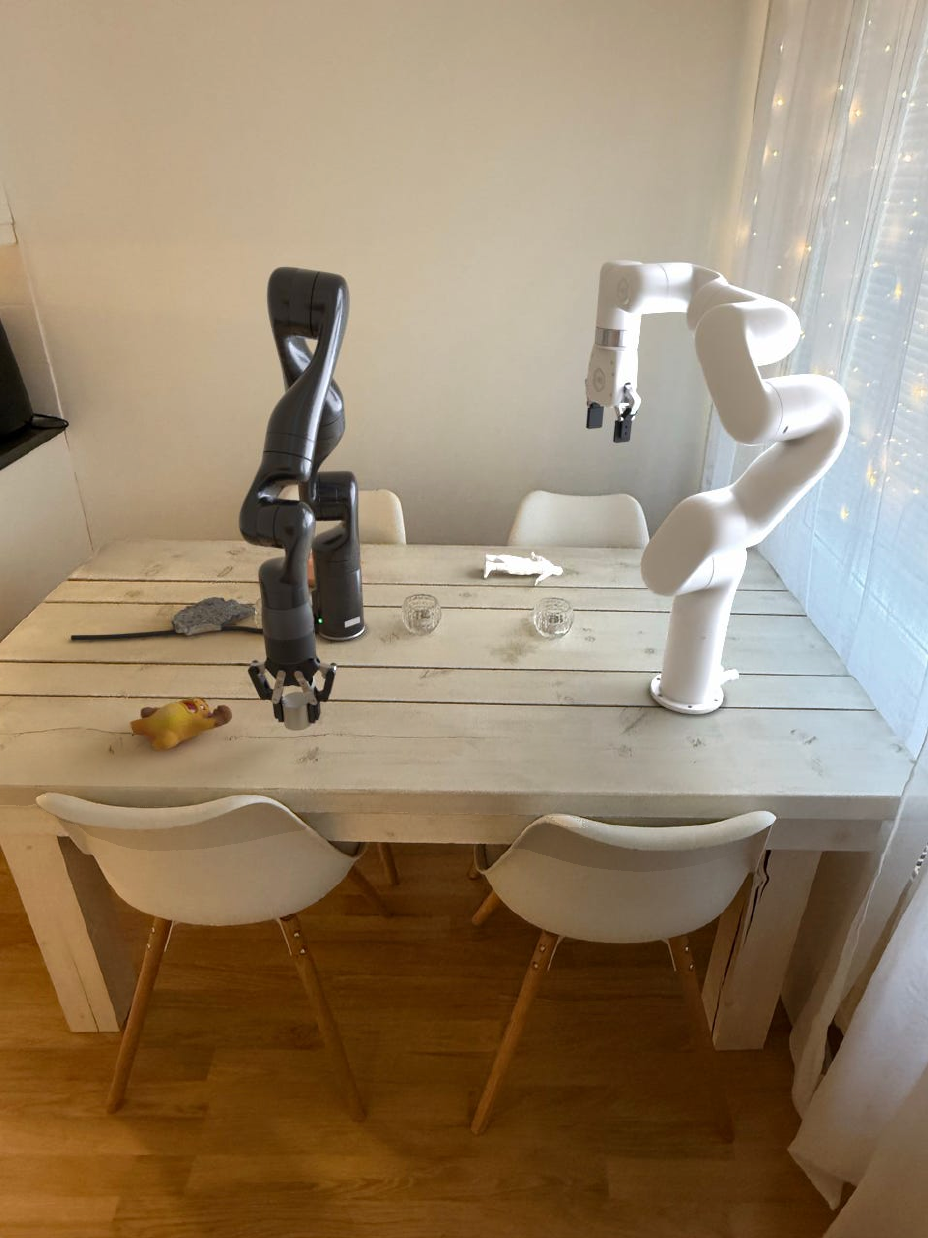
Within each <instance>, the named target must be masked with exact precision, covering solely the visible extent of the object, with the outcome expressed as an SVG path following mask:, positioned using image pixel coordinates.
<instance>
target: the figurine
mask: <svg viewBox="0 0 928 1238" xmlns="http://www.w3.org/2000/svg"><path fill="white" fill-rule="evenodd" d="M532 559H534V560H535V561H532ZM496 570H497V571H502V573H506V574H510V575H511V574H512V575H518V576H519V575H522V576H523V575H527V576H529V575H532V574H540V575H539V577H537V578H536V579H535V582H534V586H536V585H537V584H538V582H539V581H543V580H545V579H546V578H547V577H549V576H552V575H555V576H560V575H561V574H562V573H563V568H562V567H561V566H555V565H553V564H552V563H551V562H550V561H549V560H548V559H546V558H545V557H543V556H541V555H535V553H534V551H531V553H530V558H528V557H527V558H526V557H525V558H522V557H519V556H514V555H509V554H501V555H492V554H485V556H484V561H483V578H484V579H487V578H488V576H489V574H490V572H492V571H496Z"/></svg>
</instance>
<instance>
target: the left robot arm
mask: <svg viewBox="0 0 928 1238" xmlns="http://www.w3.org/2000/svg"><path fill="white" fill-rule="evenodd" d="M350 297H351V296H350V289H349V284H348V282H347V280H346V279H345V277H344V276H343V275H341V274H339V273H334V272H330V271H329V272H328V271H324V270H323V271H321V270H315V269H308V268H302V267H295V266H279V267H276V268H275V269H273V271H272V272H271V274H270V275H269V278H268V281H267V285H266V306H267V314H268V319H269V325H270V329H271V333H272V336H273V340H274V344H275V348H276V352H277V356H278V360H279V363H280V368H281V374H282V379H283V388H284V394H283V395H282V396H281V398H280V399H279V400H278V402H277V403H276V404H275V406H274V408H273V409H272V411H271V413H270V415H269V419H268V422H267V426H266V431H265V436H264V442H263V449H262V455H261V461H260V464H259V466H258V469H257V471H256V473H255V476H254V478H253V480H252V483H251V485H250V488H249V489H248V491H247V493H246V495H245V496H244V499H243V501H242V505H241V506H240V510H239V513H238V528H239V533H240V534H241V536H242V539H243V540H245V542H247V544H250V545H252V546H256V547H264V548H272V549H279V550H284V554H285V555H284V556H277V557H273V558H270V559H267V560H265V561H264V562H262V563H261V564H260V565H259V567H258V572H257V574H258V576H257V577H258V585H259V586H258V587H259V595H260V602H261V603H260V605H261V610H260V611H261V613H260V615H261V624H262V628H258V627H251V626H245V625H227V626H224V627H223V628H222V629H221V630H218V631H207V632H206V633H215V632H245V633H246V632H247V633H253V634H262V635H263V641H264V642H263V643H264V650H265V656H266V658H265V660H263V661H259V660H257V659H254V660H252V661H251V664H250V665H249V667H248V669H247V673H248V676H249V678H250V680H251V682H252V684H253V686H254V688H255V691H256V692H257V695H258V698H259V699H260V700H262V701H266V700H267V701H270V702H271V703H272V709H273V717H274V718H275V720H277V721H278V723H284V719H283V711H282V702H281V701H282V698H283V697H284V696H283V693H284V690H285V687H292V686H294V687H297V688H300V689H301V690H302V691H301V692H303V693H304V694H306V696H307V698H308V700H309V702H310V703H309V715H310V723H311V725H312V724H316V723H317V721H319V719H320V716H321V714H322V709H321V702H322V703H327V702H328V701H329V699H330V695H331V693H332V689H333V686H334V682H335V678H336V675H337V670H338V664H337V663H336V662H331V663H330V664H328V663H324V662H321V659H320V658H319V656H318V655H317V645H316V643H317V642H316V635H318V636H320V637H321V638H323V639H325V640H328V641H331V642H332V641H333V642H345V641H346V642H347V641H351V640H355V639H358V638H359V637H360V636H362V635H363V634H364V633H365V631H366V623H365V613H364V612H365V610H364V594H363V593H364V592H363V575H362V574H363V573H362V565H361V564H362V560H361V541H360V529H359V528H360V527H359V526H360V525H359V506H360V505H359V504H360V503H359V500H360V499H359V485H358V479H357V477H356V474H355V473H354V472H352V471H351V470H320V471H319V469H320V467H321V466H322V464H323V463H324V462H325V460H327V458H328V457H329V456H330V455H331V454H332V453H333V451H335V449H336V447H337V446H339V443H340V442H341V440H342V438H343V436H344V434H345V432H346V431H345V430H346V411H345V401H344V394H343V392H342V390H341V388H340V386H339V384H338V383H337V381H336V380H335V378H334V374H335V371H336V367H337V363H338V359H339V358H340V357H339V356H340V353H341V349H342V345H343V342H344V339H345V335H346V331H347V327H348V321H349V317H350V308H351V307H350V305H351V304H350V303H351V300H350V299H351V298H350ZM306 339H307V340H312V341H317V342H316V346H315V349H314V352H312V350H311V349H310V347H309V345H308V343H307V340H306ZM291 486H297V490H298V492H297V493H298V499H291V498H290V499H288V498H282V497H281V498H280V495H281V493H282V492H283V490H284V489H286V488H288V487H291ZM317 522H339V523H337V525H335V526H334V527H331V528H329V529H327V530H325V531H322V532H320V533H318V534H317V535H315V534H316V529H317ZM311 553H312V559H313V570H314V582H315V587H314V588H313V589H312V590H311V591H310V586H309V584H308V566H309V559H310V554H311ZM174 635H184V634H183V633H177V632H175V629H165V630H155V631H142V632H130V633H129V632H127V633H112V634H111V633H110V634H72V635H70V640H71V641H102V640H103V641H104V640H105V641H107V640H126V639H138V638H140V639H141V638H151V637H162V636H174ZM318 671H319V672H320V673H321V677H322V679H323V680H324V683H323V687H322V689H320V690H319V687H318V685H317V680H316V677H315V675H316V674H317V673H318ZM266 672H267V673H269V674H270V675H271V676H272V678H274V680H275V682H274V687H273V688H272V687H271V684H270V683H269V680H268V679H267V676H266Z"/></svg>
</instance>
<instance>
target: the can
mask: <svg viewBox="0 0 928 1238" xmlns="http://www.w3.org/2000/svg"><path fill="white" fill-rule="evenodd" d="M281 702H282V711H283V719H284V722H283V726H284V727H285V729H287V730H290V731H293V732H297V731H303V730H306V729H308V728H310V727H311V726H312V724H311V723H310V715H309V703H310V702H309V700H308V698H307V696H306V694H304V693H303V691H294V692H290V693H287V694H285V695H284V696H283V698H282V701H281Z"/></svg>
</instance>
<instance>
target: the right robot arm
mask: <svg viewBox="0 0 928 1238" xmlns="http://www.w3.org/2000/svg"><path fill="white" fill-rule="evenodd" d="M597 294H598V295H597V297H598V298H597V307H596V317H595V318H596V320H595V329H594V343H593V345H592V347H591V352H590V356H589V362H588V368H587V375H586V378H584V384H585V396H586V407H587V409H586V410H587V411H586V421H585V423H586V424H585V428H586V429H587V430H594V429H601V428H602V427H603V424H604V423H603V422H604V412H605V408H607V409H612V408H614V412H615V415H616V419H615V420H614V427H613V437H612V442H613V443H615V444H620V443H628V442H630V441H631V434H632V425H633V421H634V420H635V416H636V415H637V413H638V409H639V407H640V405H641V402H642V401H641V397H640V396H639V394H638V393H637V390H636V389H637V381H638V380H637V378H638V350H637V349H638V346H639V339H640V338H639V336H640V327H641V319H642V315H646V314H656V313H658V314H659V313H669V312H670V313H673V312H675V313H676V312H681V313H686V314H685V324H686V329H687V331H688V333H689V334H690V336H691V337H692V338H694V350H695V354H696V359H697V362H698V364H699V368H700V371H701V374H702V376H703V379H704V382H705V384H706V387H707V390H708V392H709V394H710V397H711V401H712V403H713V406H714V409H715V412H716V414H717V417H718V419H719V421H720V424H721V426H722V429H723V430H724V432H725V433H726V434H727V436H728V437H729V438H730V439H731V440H732V441H734V442H735V443H738V444H739V445H742V446H748V447H749V446H750V447H752V446H753V447H754V446H762V445H767V444H773V445H771V446H769V448H767V449H766V450H764V451H763V452H762V453H760V454H759V455H758V456H757V457H756V458H755V459H754V460H753V461H752V462H751V463H750V465H748V467H747V469H746V470H745V471H744V473H742V475H741V476H740V477H739V478H738V479H737V480H736V481H735V482H734V483H732V484H731V485H728V486H725V487H723V488H718V489H713V490H710V491H704V492H700V493H697V494H693V495H691V496H689V497H687V498H685V499H683V500H682V501H681V502H679V503H677V505H676V506H675V507H674V508H673V509H672V510H671V512H670V513H669V514H668V515H667V517H666V518H665V519H664V521H663V522H662V524H661V525H660V526H659V528H658V529H657V530H656V532H655V533H654V534H653V535H652V537H650V539H649V541H648V543H647V544H646V545H645V548H644V550H643V552H642V555H641V558H640V563H639V564H640V565H639V568H640V569H639V571H640V577H641V580H642V583H643V584H644V586H645V588H646V589H648V590H649V591H650V592H651V593H653V594H655V595H657V596H659V597H660V596H661V597H673V599H672V602H671V607H670V612H669V619H668V625H667V633H666V639H665V645H664V646H665V647H664V652H663V660H662V666H661V673H660V674H657V675H656V676H655V677H654V678H653V679H652V681H651V683H650V687H649V692H650V695H651V697H652V698H653V699H654V700H655V701H656V702H657V703H658V704H660V705H661V706H662V707H664V708H666V709H668V710H672V711H674V712H678V713H681V714H686V715H702V714H708V713H711V712H713V711H715V710H717V709H719V707H720V706H721V705H722V703H723V699H724V691H723V689H722V687H721V686H724V684H725V683H730V682H734V681H738V680H739V676H740V675H739V672H738V671H737V670H736V669H731V670H727V671H725V672H724V667H723V666H722V665H721V661H722V655H723V650H724V649H723V648H724V643H725V640H726V639H725V638H726V633H727V629H728V628H727V627H728V625H729V618H730V614H731V609H732V605H733V600H734V596H735V594H736V591H737V589H738V586H739V584H740V581H741V578H742V576H743V574H744V571H745V568H746V562H747V550H746V548H750V547H752V546H755V545H757V544H758V543H760V542H762V541H763V540H764V539H765V538H766V537H767V535H768V534H770V532H772V530H773V529H774V528H775V527H776V526H777V524H778V523H780V521H781V520H782V519H783V518H784V517H785V516H786V515H787V514H788V513H789V512H790V511H791V510H792V509H793V507H794V506H795V505H796V504H797V503H798V502H799V500H800V499H801V498H802V497H803V496H804V495H805V494H806V493H807V492H808V491H809V490H810V489H811V488H812V487H813V486H814V485H815V484H816V483H817V482H818V481H819V480H820V479H821V478H822V477H823V476H824V475H825V474H826V472H827V471H828V470H829V469H830V468H831V467H832V465H833V464H834V463H835V462H836V460H837V458H838V457H839V455H840V453H841V452H842V449H843V447H844V445H845V442H846V440H847V437H848V434H849V428H850V420H851V417H850V416H851V415H850V413H851V411H850V404H849V401H848V400H849V399H848V396H847V394H846V392H845V391H844V389H843V387H842V386H841V385H840V384H839V383H837V381H835V380H833V379H832V378H829V377H826V376H824V375H823V376H822V375H817V374H795V375H787V376H786V375H785V376H779V377H771V378H763V379H762V376H761V374H760V371H759V368H758V366H764V365H769V364H773V363H776V362H778V361H780V360H782V359H783V358H785V357H786V356H787V355H788V354H790V353H791V352H792V351H793V349H795V347H796V345H797V343H798V341H799V338H800V335H801V324H800V320H799V317H798V316H797V314H796V313H795V311H793V309H792V308H791V307H789V306H787V305H786V304H784V303H782V302H780V301H778V300H775V299H773V298H769V297H766V296H763V295H761V294H758V293H755V292H752V291H749V290H746V289H743V288H740V287H737V286H734V285H731V284H729V283H728V282H727V280H726V278H724V276H723V275H722V274H721V273H720V272H718V271H715V270H713V269H710V268H708V267H707V268H706V267H704V266H701V265H698V264H694V263H691V262H690V263H689V262H682V261H681V262H679V261H676V262H674V261H673V262H671V261H670V262H651V263H642V262H641V261H637V260H631V259H626V260H625V259H614V260H613V259H612V260H608V261H605V262H604V263H603V264H602V265H601V268H600V272H599V283H598V293H597ZM622 409H624V411H623V410H622Z"/></svg>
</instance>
